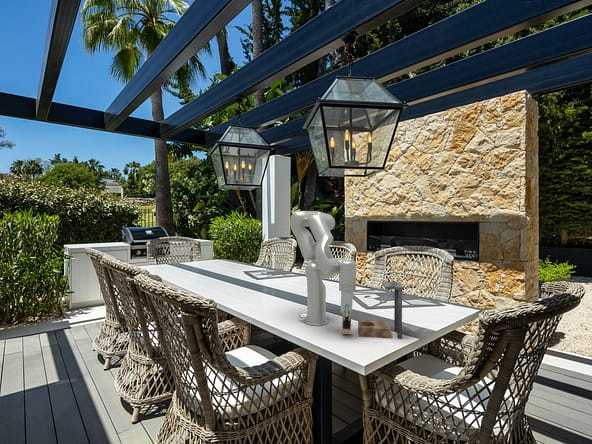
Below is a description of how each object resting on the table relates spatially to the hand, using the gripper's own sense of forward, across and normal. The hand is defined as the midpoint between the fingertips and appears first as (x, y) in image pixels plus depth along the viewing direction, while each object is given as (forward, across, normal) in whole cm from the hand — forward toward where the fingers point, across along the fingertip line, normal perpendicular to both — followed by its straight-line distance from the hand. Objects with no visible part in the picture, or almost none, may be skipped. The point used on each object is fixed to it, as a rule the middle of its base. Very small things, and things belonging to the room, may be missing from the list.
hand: (346, 326), depth 152 cm
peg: (+3, 0, 0) cm, 3 cm away
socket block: (+4, -4, +15) cm, 16 cm away
